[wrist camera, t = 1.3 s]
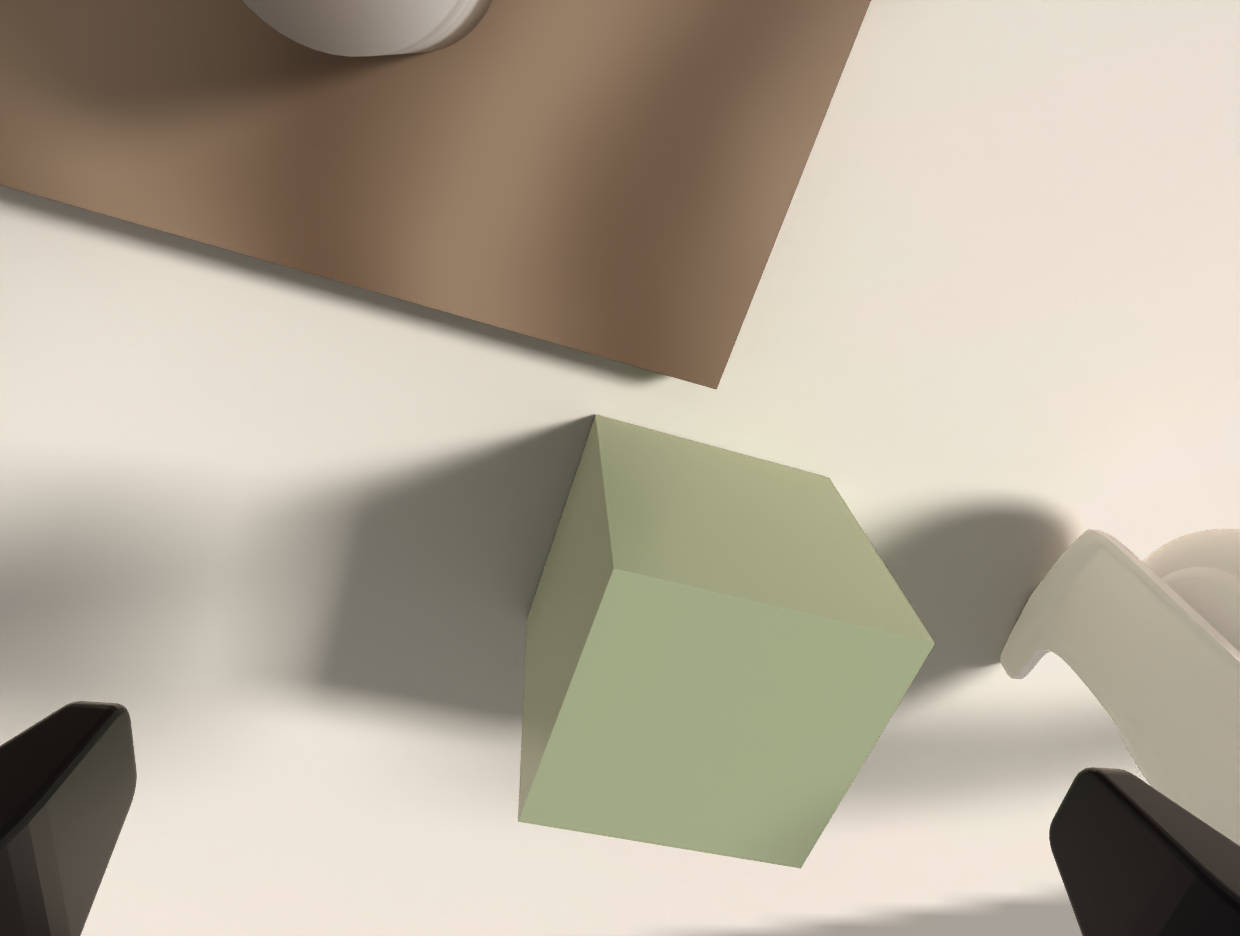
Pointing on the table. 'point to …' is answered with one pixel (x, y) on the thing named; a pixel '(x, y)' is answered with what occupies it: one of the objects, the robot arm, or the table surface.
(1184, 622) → the headset
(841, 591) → the sage green cube
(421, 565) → the table surface
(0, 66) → the brown rectangular block
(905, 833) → the table surface
